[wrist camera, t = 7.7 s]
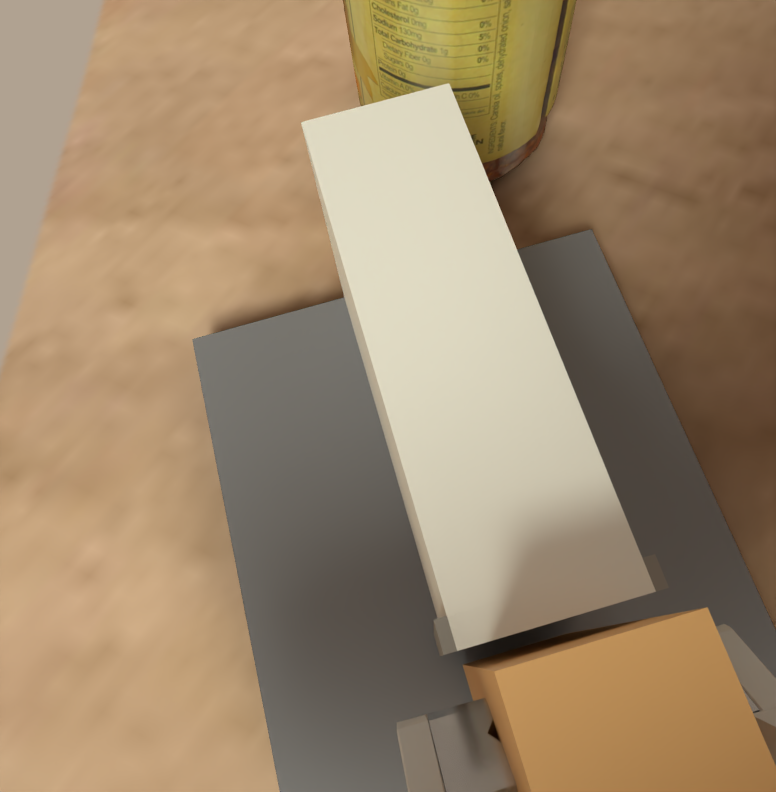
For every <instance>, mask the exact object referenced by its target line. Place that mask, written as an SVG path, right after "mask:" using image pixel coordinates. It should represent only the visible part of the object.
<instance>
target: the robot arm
mask: <svg viewBox="0 0 776 792" xmlns="http://www.w3.org/2000/svg"><path fill="white" fill-rule="evenodd" d="M716 628H717V630H718V633H719V635H720V637H721V640H722V642H723V644H724V647H725V649H726V651H727V654H728V656H729V658H730V661H731V663H732V665H733V668H734V670H735V672H736V675H737V677H738V679H739V682H740V684H741V686H742V689H743V691H744V693H745V696H746V698H747V700H748V702H749V705H750V707H751V709H752V712H753V714H754V716H755V719H756V721H757V723H758V726H759V728H760V730H761V733H762V735H763V737H764V740H765V742H766V744H767V747H768V749H769V751H770V754H771V756H772V758H773V761H774V763H775V765H776V678H775V677H774V676H773V675H772V673H771V672H770V671H769V670H768V669H767V668H766V667H765V665H764V664H763V663H762V662H761V661H760V660H759V659H758V657H757V656H756V655H755V654H754V653H753V652H752V651H751V650H750V648H749V647H748V646H747V645H746V644H745V643H744V642H743V640H742V639H741V638H740V637H739V636H738V635H737V634H736V632H735V631H734V630H733V629H732V628H731V627H729V626H727V625H726V624H722V625H719V626H716ZM427 715H428V716H427ZM397 736H398V741H399V746H400V752H401V757H402V762H403V767H404V773H405V778H406V783H407V788H408V792H518V789H517V785H516V782H515V779H514V776H513V773H512V771H511V768H510V765H509V762H508V759H507V756H506V754H505V751H504V748H503V745H502V743H501V742H500V741H499V740H498V736H497V732H496V728H495V724H494V720H493V717H492V714H491V711H490V708H489V705H488V703H487V700H486V698H482V699H479V700H475V701H471V702H468V703H464V704H460V705H457V706H453V707H449V708H446V709H442V710H438V711H435V712H431V713H427V714H425V715H421V716H418V717H414V718H411V719H407V720H404V721H400V722H397Z"/></svg>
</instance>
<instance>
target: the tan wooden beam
mask: <svg viewBox="0 0 776 792" xmlns="http://www.w3.org/2000/svg"><path fill="white" fill-rule="evenodd" d="M463 668H464V672H465V675H466V678H467V682H468V685H469V688H470V692H471V695H472V699H473V701H475V700H479V699H482V698H486V700H487V703H488V705H489V708H490V711H491V714H492V717H493V720H494V724H495V728H496V732H497V736H498V740H499V741H500V742H501V743H502V745H503V748H504V751H505V754H506V756H507V759H508V762H509V765H510V768H511V771H512V773H513V776H514V779H515V782H516V785H517V789H518V792H776V765H775V763H774V761H773V758H772V756H771V754H770V751H769V749H768V747H767V744H766V742H765V740H764V737H763V735H762V733H761V730H760V728H759V726H758V723H757V721H756V719H755V716H754V714H753V712H752V709H751V707H750V705H749V702H748V700H747V698H746V696H745V693H744V691H743V689H742V686H741V684H740V682H739V679H738V677H737V675H736V672H735V670H734V668H733V665H732V663H731V661H730V658H729V656H728V654H727V651H726V649H725V647H724V644H723V642H722V640H721V637H720V635H719V633H718V630H717V628H716V626H715V623H714V621H713V619H712V616H711V614H710V612H709V609H708V607H706V608H701V609H696V610H690V611H685V612H680V613H674V614H669V615H663V616H658V617H653V618H647V619H642V620H637V621H631V622H626V623H620V624H615V625H610V626H604V627H599V628H594V629H588V630H583V631H577V632H572V633H567V634H563V635H559V636H556V637H553V638H549V639H546V640H543V641H539V642H536V643H533V644H529V645H526V646H523V647H519V648H516V649H513V650H509V651H506V652H503V653H499V654H496V655H493V656H489V657H486V658H483V659H479V660H476V661H473V662H469V663H466V664H463Z"/></svg>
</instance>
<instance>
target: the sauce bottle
mask: <svg viewBox="0 0 776 792" xmlns="http://www.w3.org/2000/svg"><path fill="white" fill-rule="evenodd" d="M343 4H344V11H345V17H346V23H347V28H348V34H349V40H350V47H351V53H352V59H353V65H354V71H355V77H356V83H357V89H358V95H359V100H360V104H361V106H365V105H368V104H372V103H376V102H380V101H383V100H387V99H391V98H395V97H398V96H402V95H406V94H410V93H414V92H417V91H421V90H425V89H429V88H432V87H436V86H440V85H444V84H448V83H449V84H450V86H451V89H452V91H453V94H454V96H455V99H456V101H457V104H458V106H459V109H460V111H461V113H462V116H463V118H464V121H465V123H466V126H467V128H468V131H469V133H470V136H471V138H472V140H473V143H474V145H475V148H476V150H477V153H478V155H479V158H480V160H481V163H482V165H483V168H484V170H485V172H486V175H487V177H488V180H489V182H491V181H493V180H495V179H497V178H500V177H502V176H503V175H505V174H506V173H507V172H509V171H510V170H512V169H513V168H515V167H516V166H518V165H519V164H520V163H521V162H522V161H523V160H524V159H525V158H527V157H529V155H530V154H531V153H532V152H533V151H535V149H536V148H537V147H538V145H539V143H540V141H541V138H542V136H543V133H544V130H545V125H546V121H547V115H548V114H549V112H550V110H551V108H552V107H553V104H554V101H555V98H556V95H557V90H558V86H559V81H560V77H561V72H562V67H563V63H564V58H565V53H566V48H567V43H568V38H569V34H570V29H571V24H572V19H573V14H574V9H575V4H576V0H343Z"/></svg>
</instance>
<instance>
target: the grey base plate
mask: <svg viewBox="0 0 776 792" xmlns="http://www.w3.org/2000/svg"><path fill="white" fill-rule="evenodd" d="M301 124H302V128H303V132H304V136H305V140H306V144H307V148H308V153H309V157H310V161H311V165H312V169H313V173H314V177H315V181H316V185H317V189H318V193H319V197H320V201H321V205H322V209H323V213H324V217H325V221H326V225H327V229H328V233H329V237H330V242H331V246H332V250H333V254H334V258H335V262H336V266H337V270H338V274H339V278H340V282H341V286H342V290H343V294H344V298H340V299H336V300H333V301H329V302H326V303H322V304H318V305H315V306H311V307H307V308H304V309H300V310H297V311H293V312H289V313H286V314H282V315H279V316H275V317H271V318H268V319H264V320H260V321H257V322H253V323H250V324H246V325H242V326H239V327H235V328H231V329H228V330H224V331H221V332H217V333H213V334H210V335H206V336H202V337H199V338H195V339H192V340H193V345H194V350H195V355H196V361H197V366H198V371H199V376H200V381H201V386H202V392H203V397H204V402H205V407H206V412H207V417H208V423H209V428H210V433H211V438H212V443H213V448H214V454H215V459H216V464H217V469H218V474H219V479H220V485H221V490H222V495H223V500H224V505H225V510H226V516H227V521H228V526H229V531H230V536H231V542H232V547H233V552H234V557H235V562H236V567H237V573H238V578H239V583H240V588H241V593H242V598H243V604H244V609H245V614H246V619H247V624H248V629H249V635H250V640H251V645H252V650H253V655H254V660H255V666H256V671H257V676H258V681H259V686H260V691H261V697H262V702H263V707H264V712H265V717H266V722H267V728H268V733H269V738H270V743H271V748H272V753H273V759H274V764H275V769H276V774H277V779H278V784H279V790H280V792H408V788H407V783H406V778H405V773H404V767H403V762H402V757H401V752H400V746H399V741H398V736H397V722H400V721H404V720H407V719H411V718H414V717H418V716H421V715H425V714H427V713H431V712H435V711H438V710H442V709H446V708H449V707H453V706H457V705H460V704H464V703H468V702H471V701H473V699H472V695H471V692H470V688H469V685H468V682H467V678H466V675H465V672H464V668H463V664H466V663H469V662H473V661H476V660H479V659H483V658H486V657H489V656H493V655H496V654H499V653H503V652H506V651H509V650H513V649H516V648H519V647H523V646H526V645H529V644H533V643H536V642H539V641H543V640H546V639H549V638H553V637H556V636H559V635H563V634H567V633H572V632H577V631H583V630H588V629H594V628H599V627H604V626H610V625H615V624H620V623H626V622H631V621H637V620H642V619H647V618H653V617H658V616H663V615H669V614H674V613H680V612H685V611H690V610H696V609H701V608H706V607H708V609H709V612H710V614H711V616H712V619H713V621H714V623H715V626H719V625H722V624H726V625H727V626H729V627H731V628H732V629H733V630H734V631H735V632H736V634H737V635H738V636H739V637H740V638H741V639H742V640H743V642H744V643H745V644H746V645H747V646H748V647H749V648H750V650H751V651H752V652H753V653H754V654H755V655H756V656H757V657H758V659H759V660H760V661H761V662H762V663H763V664H764V665H765V667H766V668H767V669H768V670H769V671H770V672H771V673H772V675H773V676H774V677H775V678H776V630H775V628H774V625H773V623H772V621H771V619H770V617H769V614H768V612H767V610H766V608H765V606H764V604H763V601H762V599H761V597H760V595H759V593H758V591H757V588H756V586H755V584H754V582H753V580H752V577H751V575H750V573H749V571H748V569H747V567H746V564H745V562H744V560H743V558H742V556H741V553H740V551H739V549H738V547H737V545H736V543H735V540H734V538H733V536H732V534H731V532H730V530H729V527H728V525H727V523H726V521H725V519H724V516H723V514H722V512H721V510H720V508H719V506H718V503H717V501H716V499H715V497H714V495H713V492H712V490H711V488H710V486H709V484H708V482H707V479H706V477H705V475H704V473H703V471H702V469H701V466H700V464H699V462H698V460H697V458H696V455H695V453H694V451H693V449H692V447H691V445H690V442H689V440H688V438H687V436H686V434H685V432H684V429H683V427H682V425H681V423H680V421H679V418H678V416H677V414H676V412H675V410H674V408H673V405H672V403H671V401H670V399H669V397H668V394H667V392H666V390H665V388H664V386H663V384H662V381H661V379H660V377H659V375H658V373H657V371H656V368H655V366H654V364H653V362H652V360H651V357H650V355H649V353H648V351H647V349H646V347H645V344H644V342H643V340H642V338H641V336H640V334H639V331H638V329H637V327H636V325H635V323H634V320H633V318H632V316H631V314H630V312H629V310H628V307H627V305H626V303H625V301H624V299H623V296H622V294H621V292H620V290H619V288H618V286H617V283H616V281H615V279H614V277H613V275H612V273H611V270H610V268H609V266H608V264H607V262H606V259H605V257H604V255H603V253H602V251H601V249H600V246H599V244H598V242H597V240H596V238H595V236H594V233H593V231H592V229H590V230H586V231H583V232H579V233H576V234H572V235H568V236H565V237H561V238H557V239H554V240H550V241H547V242H543V243H539V244H536V245H532V246H528V247H525V248H521V249H518V250H517V249H516V246H515V244H514V241H513V239H512V236H511V234H510V231H509V229H508V227H507V224H506V222H505V219H504V217H503V214H502V212H501V209H500V207H499V204H498V202H497V200H496V197H495V195H494V192H493V190H492V187H491V185H490V182H489V180H488V177H487V175H486V172H485V170H484V168H483V165H482V163H481V160H480V158H479V155H478V153H477V150H476V148H475V145H474V143H473V140H472V138H471V136H470V133H469V131H468V128H467V126H466V123H465V121H464V118H463V116H462V113H461V111H460V109H459V106H458V104H457V101H456V99H455V96H454V94H453V91H452V89H451V86H450V84H449V83H448V84H444V85H440V86H436V87H432V88H429V89H425V90H421V91H417V92H414V93H410V94H406V95H402V96H398V97H395V98H391V99H387V100H383V101H380V102H376V103H372V104H368V105H365V106H361V107H357V108H353V109H349V110H346V111H342V112H338V113H334V114H331V115H327V116H323V117H319V118H315V119H312V120H308V121H304V122H301ZM427 716H428V715H427Z"/></svg>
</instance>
